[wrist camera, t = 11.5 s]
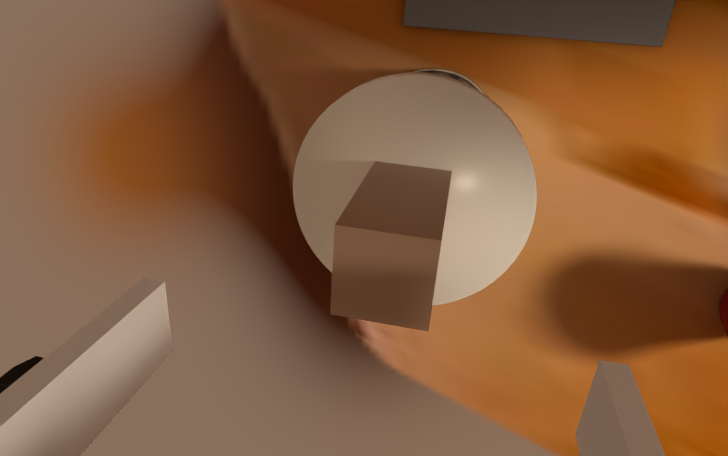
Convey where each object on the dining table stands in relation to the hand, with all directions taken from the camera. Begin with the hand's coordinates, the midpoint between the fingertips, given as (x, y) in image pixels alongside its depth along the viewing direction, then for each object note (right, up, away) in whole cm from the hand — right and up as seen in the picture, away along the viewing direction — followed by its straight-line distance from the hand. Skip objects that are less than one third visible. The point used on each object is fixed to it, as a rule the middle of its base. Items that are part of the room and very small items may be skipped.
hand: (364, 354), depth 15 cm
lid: (+3, +6, +13) cm, 15 cm away
